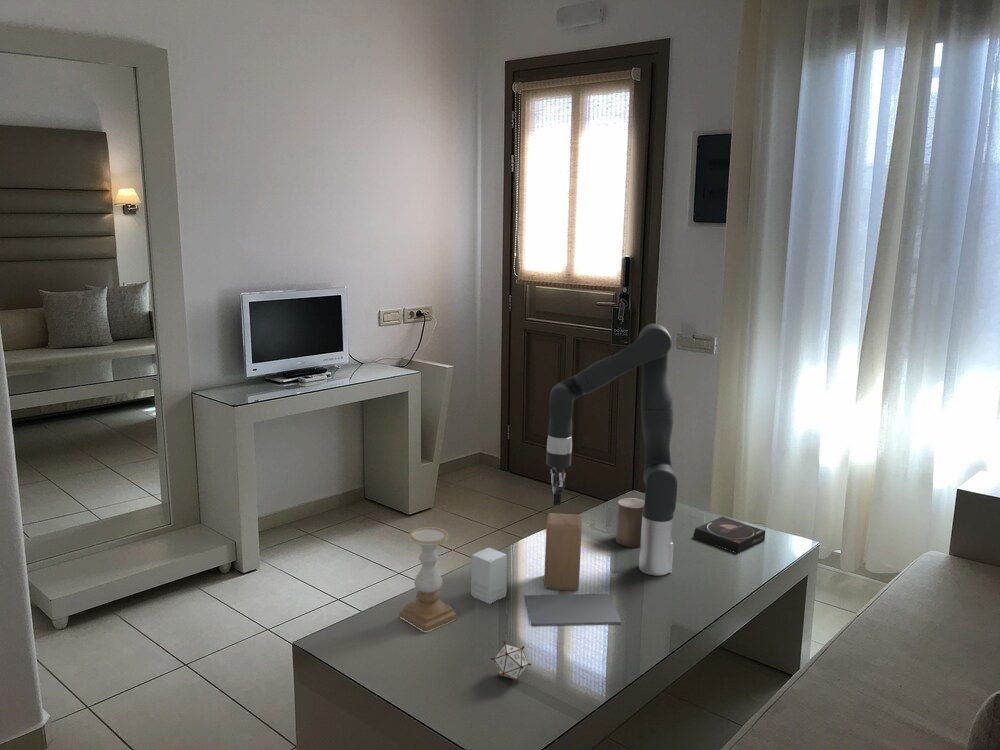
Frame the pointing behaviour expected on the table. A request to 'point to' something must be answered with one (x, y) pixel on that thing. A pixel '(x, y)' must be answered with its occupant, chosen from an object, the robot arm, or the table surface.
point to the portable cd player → (730, 534)
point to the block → (563, 551)
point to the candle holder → (428, 583)
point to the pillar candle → (629, 522)
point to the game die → (510, 661)
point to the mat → (571, 609)
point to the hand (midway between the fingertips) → (556, 504)
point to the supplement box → (489, 575)
